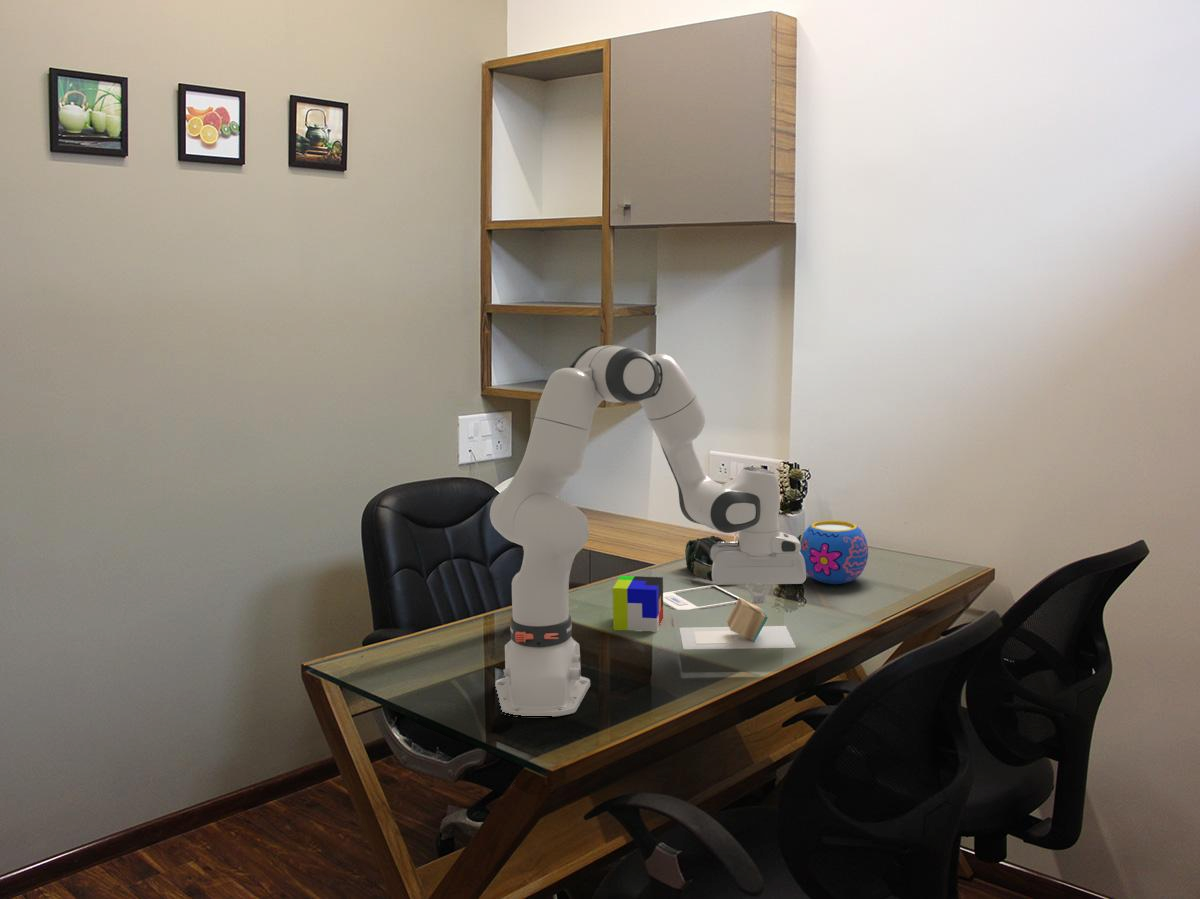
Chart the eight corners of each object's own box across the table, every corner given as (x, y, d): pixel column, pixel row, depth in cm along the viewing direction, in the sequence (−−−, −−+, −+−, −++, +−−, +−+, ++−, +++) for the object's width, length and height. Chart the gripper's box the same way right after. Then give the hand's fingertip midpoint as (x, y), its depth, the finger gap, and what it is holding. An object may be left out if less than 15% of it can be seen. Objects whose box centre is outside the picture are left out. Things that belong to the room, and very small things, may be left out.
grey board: (796, 652, 234) (796, 647, 234) (683, 653, 235) (683, 648, 234) (785, 630, 248) (785, 625, 248) (679, 631, 248) (679, 627, 248)
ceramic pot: (827, 568, 297) (827, 514, 294) (881, 582, 283) (883, 525, 281) (783, 581, 286) (784, 525, 283) (838, 596, 272) (839, 537, 270)
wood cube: (767, 617, 237) (743, 606, 237) (754, 641, 238) (730, 630, 238) (763, 609, 243) (739, 597, 243) (750, 632, 244) (726, 621, 243)
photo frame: (651, 593, 275) (714, 583, 282) (651, 598, 275) (714, 588, 282) (679, 610, 262) (744, 599, 269) (679, 614, 262) (744, 603, 269)
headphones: (661, 553, 294) (711, 580, 279) (692, 515, 297) (742, 540, 281) (685, 579, 302) (734, 607, 287) (714, 542, 305) (765, 568, 289)
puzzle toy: (656, 632, 249) (656, 589, 247) (613, 630, 251) (612, 588, 249) (663, 618, 258) (662, 577, 257) (621, 616, 260) (620, 575, 259)
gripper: (711, 545, 234) (711, 607, 237) (808, 544, 234) (807, 606, 236) (709, 538, 241) (709, 599, 243) (803, 537, 240) (802, 598, 243)
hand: (758, 602), depth 240 cm, fingers closed
